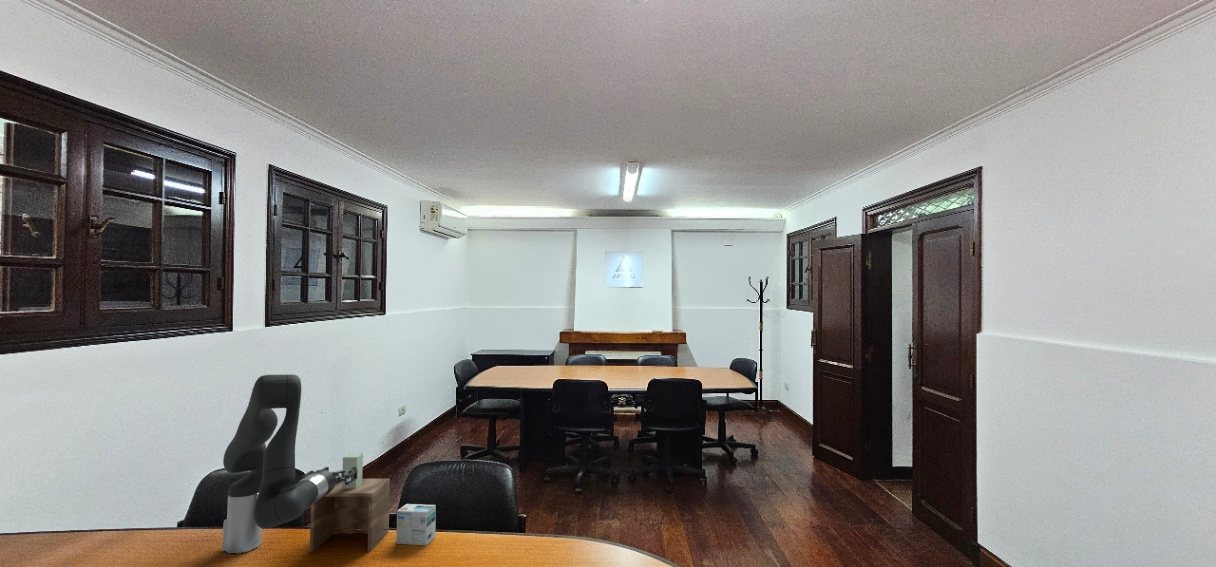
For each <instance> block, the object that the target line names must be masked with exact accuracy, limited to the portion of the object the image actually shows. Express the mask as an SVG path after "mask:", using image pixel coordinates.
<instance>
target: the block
mask: <svg viewBox="0 0 1216 567" xmlns="http://www.w3.org/2000/svg"><path fill="white" fill-rule="evenodd" d="M363 460H364V453H358V452H357V453H354V452H353V453H348V454H346V455H344V456H343V457H342V470H344V471H347V470H349V469H351V468H352V467H356V468H357V470H358V474H357V479H356V480H355V481H353V482H351V483H350V484H348V485H345V482H343V483H342V489H356V488H357V487H359V486H360V485H361V484H362V479H363V469H364V468H363V464H364V461H363ZM346 474H348V473H346Z"/></svg>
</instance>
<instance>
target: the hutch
mask: <svg viewBox="0 0 1216 567" xmlns="http://www.w3.org/2000/svg"><path fill="white" fill-rule="evenodd" d="M390 488H391V478H362V484H361V485H360V486H359V487H357V488H356V489H342V483H339V484H336V485H335V486H334V488H333V490H332V491H331V492H330V493H329V494H327V495H326V496H324V497H323V498H321V499H320V500H319V501H317V502H315V503H313V504H311V505H310V525H309V527H310V528H309V551H308V552H309V553H313V552H315V550H317V549H318V548H319V547H320V546H321V545H323V543H324V542H326V541H328V540H329V538H330V537H332V536H333V535H339V534H340V535H343V534H345V535H346V534H347V533H348V534H347V535H353V534H352V533H363V534H364V533H365V534H366V535H367V552H372V551H373V550H374V549H375V547H377V545H378V544H380V542H381V541H382V540H383V539H384V538H385V537H386V535H387V534H388V533H389V528H390V526H389V522H390V521H389V520H390V495H391V494H390V491H391V490H390ZM333 528H355V529H333ZM357 529H368V530H357ZM383 529H387V530H383ZM363 534H362V535H363ZM365 534H364V535H365ZM373 548H374V549H373ZM372 549H373V550H372Z"/></svg>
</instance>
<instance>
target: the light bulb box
mask: <svg viewBox="0 0 1216 567" xmlns="http://www.w3.org/2000/svg"><path fill="white" fill-rule="evenodd" d="M436 508H437V507H436V504H421V503H420V504H419V503H417V504H416V503H414V504H413V503H406V504H404V505H403V506H401V507H400V508H399V509H398V510H397V512H396V538H395V539H396V541H395V542H396V543H395V544H396V545H411V546H412V545H414V546H417V545H418V546H428V545H429V543H431V542H432V541H433V540H434V539H435V538H436V515H437V514H436Z"/></svg>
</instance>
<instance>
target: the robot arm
mask: <svg viewBox="0 0 1216 567" xmlns="http://www.w3.org/2000/svg"><path fill="white" fill-rule="evenodd" d="M301 398H302V381H301V378H300V377H299V375H297V374H265V375H261V376H259V377H258V378H257V380H255V382H254V385H253V388H252V390H251V394H250V398H249V401H248V405H247V407H246V410H245V412H244V414H243V415H242V418H241V420H240V422H239V425H238V427H237V430H236V433H235V434H234V436H233V438H232V440H231V441H230V443H229V444H228V446H227V447H226V449H225V452H224V454H223V462H222V463H223V468H224V469H225V472H227V473H229V474H238V473H239V474H240V473H243V472H249V473H248V474H247V475H245V476H243V477H242V478H241V479H238V480H237V481H234V482H233V483H231V484H230V485H229V486H228V490H227V493H228V494H227V511H226V514H227V515H226V519H224V521H223V525H222V526H223V528H222V548H221V551H222V550H224V551H226V552H225V553H227V552H228V553H227V554H230V553H236V554H243V553H246V552H250V551H252V549H253V550H255V549H257V548H259V547H260V546H261V545H262V530H263V529H270V528H273V527H274V528H275V527H276V526H280V525H282V524H287V523H289V522H291V521H294V520H297V519H298V518H300V517H301V516H302V515H303V513H304V512H305V511H306V509H308V507H309V506H310V507H311V504H313V503H315V502H317V501H319V500H320V499H321V498H323V497H324V496H326V495H327V494H329V493H330V492H331V491H332V490H333V488H334V486H335V485H336V484H339V483H343V482H345V485H348V484H350V483H351V482H353V481H355V480H356V479H357V474H358V470H357V468H356V467H352V468H351V469H349V470H347V471H344V470H343V469H340V470H337V471H334V470H333V471H330V470H329V468H330V467H329V466H326V467H324V468H322V469H317V470H310V471H309V470H308V472H306V473H305V474H303V475H302V476H301V480H299V481H298V482H296V483H294V484H293V485H291V486H290V487H289V488H288V489H286V490H285V492H284V493H281V491H282V489H283V488H284V487H286V486H288V485H289V484H291V483H292V482H294V480H295V478H296V443H297V442H296V440H297V433H298V426H299V420H300V419H299V417H300V408H301V400H302V399H301ZM273 409H285V415H284V418H283V420H282V422H281V425H280V427H279V428H278V430H277V431H276V433H275V434H274V432H275V430H276V428H277V426H278V424H279V422H278V416H277V414H276V412H275V411H274V410H273ZM272 436H273V437H272ZM269 440H270V441H269ZM268 441H269V443H268V444H267V445H266V442H268ZM346 473H348V474H346ZM340 474H341V475H340ZM280 493H281V494H280ZM259 545H260V546H259ZM256 547H257V548H256ZM254 548H255V549H254ZM242 552H243V553H242Z"/></svg>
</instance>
